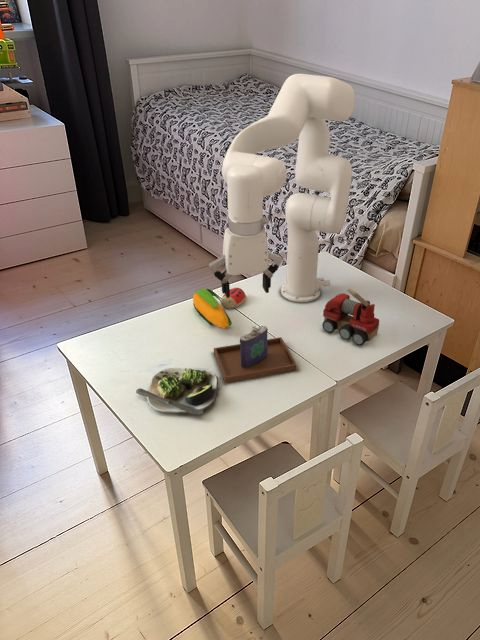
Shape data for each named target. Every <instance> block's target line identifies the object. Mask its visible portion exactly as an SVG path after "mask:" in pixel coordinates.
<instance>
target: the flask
mask: <svg viewBox="0 0 480 640" xmlns="http://www.w3.org/2000/svg"><path fill="white" fill-rule="evenodd" d="M251 328H252V330H251V331H250V332H249V333H247V334H243V335H241V336H240V338H239V344H240V351H241V353H240V355H241V367H242V368H243V369H248V368H250V367H253V366H254V365H256V364H258V363H259V362H261V361H262V360H263V359H264V358H266V356H267V353H268V352H267V339H268V332H269V331H268V330H269V329H268V327H267V326H266V325H260V326H258V327H256V326H255V325H252V327H251Z"/></svg>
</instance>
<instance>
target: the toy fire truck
mask: <svg viewBox="0 0 480 640" xmlns="http://www.w3.org/2000/svg"><path fill="white" fill-rule="evenodd" d="M346 291H347V292H348V294H347V293H337V294H336V295H335V296H333V297H332V298H331V299H330V300H328V301H327V302H326V303H325V306H324V309H323V311H322V317H324V319H323V322H322V325H321V326H322V329H323V330H324V331H325V333H328V334H332V333H334V332H335V331H336V330H337V331H338V334H339V335H338V336H339V337H340V338H341V339H342V340H345V341H348V340H352V343H353V344H355V345H356V346H359V347H361V346H364V345H365V344H366V343H368V342H371V341H372V340H373V339H374V338H375V337H376V336H377V335H378V332H379V326H380V319H379V318H378V317H375V303H371V301H370V300H366V299H365V298H363V297H362V296H361V295H360V294H359V293H358V292H356V291H355V290H354V289H353V288H351V287H348V288H347V289H346ZM350 295H351V296H352V297H354V298H355V299H356V300H355V301H354V300H352V299H351V296H350Z"/></svg>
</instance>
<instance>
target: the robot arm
mask: <svg viewBox="0 0 480 640" xmlns="http://www.w3.org/2000/svg"><path fill="white" fill-rule="evenodd" d="M355 104H356V95H355V90H354V88H353V87H352V85H350V84H349V83H347V82H344V81H343V80H340V79H338V78H335V77H332V76H327V75H326V76H325V75H318V74H317V75H316V74H309V73H308V74H307V73H295V74H291V75H289V76H288V77H287V78H286V79H285V81H284V82H283V84H282V86H281V88H280V90H279V92H278V94H277V96H276V97H275V99H274V102H273V104H272V106H271V108H270V109H269V111H268V114H267V115H266V116H264V117H262V118H260V119H258V120H256V121H255V122H252V123H251V124H249V125H248V126H247V127H245V128H243V129H242V130H240V131H239V132H238V134H236V135H235V137H234V138H233V140H232V142H231V144H230V145H229V147H228V149H227V151H226V153H225V155H224V158H223V161H222V166H221V175H222V180H223V181H224V182H225V184H226V187H227V188H226V191H227V215H228V216H227V217H228V221H227V223H228V227H227V228H225V230H224V233H223V242H222V255H221V256H219V257H218V258H216V259H215V260H213V261H211V262H210V263H209V264H208V267H209V269H210V271H211V272H212V274H213V275H214V277H215V278H216V279H218V280H219V281H220V283H221V292H222V294H223V295H224V294H225V295H226V297H227V298H229V297H230V289H231V288H230V282H229V280H230V279H231V277H232V276H240V275H248V274H249V275H250V274H257V273H262V289H263V290H264V292H265V294H269V293H270V288H271V287H272V277H274V274H275V273H276V272H277V271H278V270H279V267H280V266H281V264H282V261H283V257H282V256H281V255H280V254H276V253H275V252H273V251H269V248H268V247H269V246H268V237H267V233H266V229H265V227H264V226H265V225H266V224H267V225H268V224H269V223H270V219H269V217H268V216H267V217H265V216H263V214H264V213H263V212H264V211H263V209H264V206H263V205H264V201H263V199H264V198H265V197H268V196H272V195H274V194H276V193H278V192H279V191H280V190H281V189H282V188H283V187H284V186H285V184H286V181H287V176H288V171H287V167H286V165H285V164H284V162H283V161H282V160H280V159H279V158H276V157H272V156H265V155H260V154H258V153H261V152H264V151H268V150H272V149H278V148H282V147H285V146H289V145H291V144H294V143H295V142H296V141H297V140H298V143H297V145H298V146H297V150H296V152H297V153H296V159H295V160H296V161H295V169H294V170H295V171H294V172H295V173H294V179H295V183H296V185H298V186H299V187H301V188H304V189H306V190H307V189H308V190H313V191H319V192H324V193H329V195H330V197H328V196H321V195H318V194H311V193H306V192H296V193H293V194H291V195H290V196H289V197H288V198H287V200H286V202H285V206H284V207H285V208H284V210H285V211H284V213H285V221H286V228H287V230H286V231H287V246H286V247H287V248H286V276H285V282H284V283H283V284H282V285H281V286H280V294H281V296H283V298H285V299H286V300H288V301H291V302H296V303H308V302H309V303H310V302H312V301H316V300H317V299H318V298H319V297H320V295H321V289H322V288H323V287H330V286H331V283H332V282H331V280H330V279H324V277H323V276H322V277H317V275H318V264H319V249H320V240H319V239H320V238H319V236H318V233H317V232H321V233H326V234H332V235H333V234H338V233H340V232H341V231H342V229H343V228H344V225H345V223H346V222H345V221H346V218H347V217H346V216H347V210H348V205H349V199H350V193H351V185H352V178H353V168H352V163H351V161H350V160H349V159H347V158H345V157H343V156H336V155H331V154H330V153H329V150H330V142H331V132H330V128H329V126H328V124H327V122H326V120H328V121H333V122H334V121H335V122H341V123H342V122H346V121H347V120H348V119H350V117H351V116H352V115H353V112H354V109H355ZM269 260H272V261H273V262H272V263H271V264H270V265H269V263H270V261H269ZM222 265H223V267H224V269H223V270H222V271H220V270H218V268H219V267H220V266H222Z"/></svg>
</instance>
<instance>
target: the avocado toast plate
mask: <svg viewBox="0 0 480 640" xmlns="http://www.w3.org/2000/svg"><path fill="white" fill-rule="evenodd" d="M218 385H219V382H218V375H216V373H215V372H214V371H212V370H210V369H209V368H204V367H170V368H165V369H162V370H159V371H158V372H156V373H155V374H154V375H153V376H152V378H151V382H150V384H149V388H148V390H146V389H144V388H141V387H140V388H137V389H136V390H135V393H136V394H137V395H139V396H141V397H144V398H145V399H146V401H147V404H148V405H149V406H150V407H151V408H152V409H154V410H155V411H157V412H162V413H178V414H179V413H181V414H191V415H192V414H193V415H197V416H198V415H202V414H204V411H207V410H208V409H209V408H211V407H212V405H213V404H214V403H215V401H216V399H217V393H218V392H217V391H218Z"/></svg>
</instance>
